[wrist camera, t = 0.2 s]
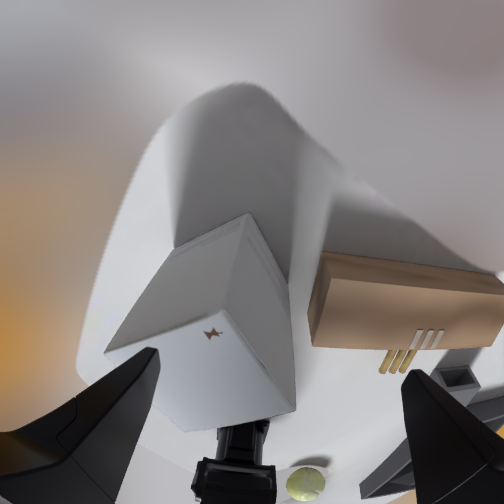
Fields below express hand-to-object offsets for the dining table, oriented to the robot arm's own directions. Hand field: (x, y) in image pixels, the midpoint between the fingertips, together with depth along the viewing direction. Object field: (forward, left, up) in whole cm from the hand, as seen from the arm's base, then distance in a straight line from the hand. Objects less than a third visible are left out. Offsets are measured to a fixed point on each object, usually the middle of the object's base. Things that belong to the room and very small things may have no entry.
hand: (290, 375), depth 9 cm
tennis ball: (-42, -11, -15) cm, 46 cm away
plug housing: (-17, -24, -15) cm, 33 cm away
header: (-7, -13, -14) cm, 21 cm away
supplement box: (-4, +4, -15) cm, 16 cm away
